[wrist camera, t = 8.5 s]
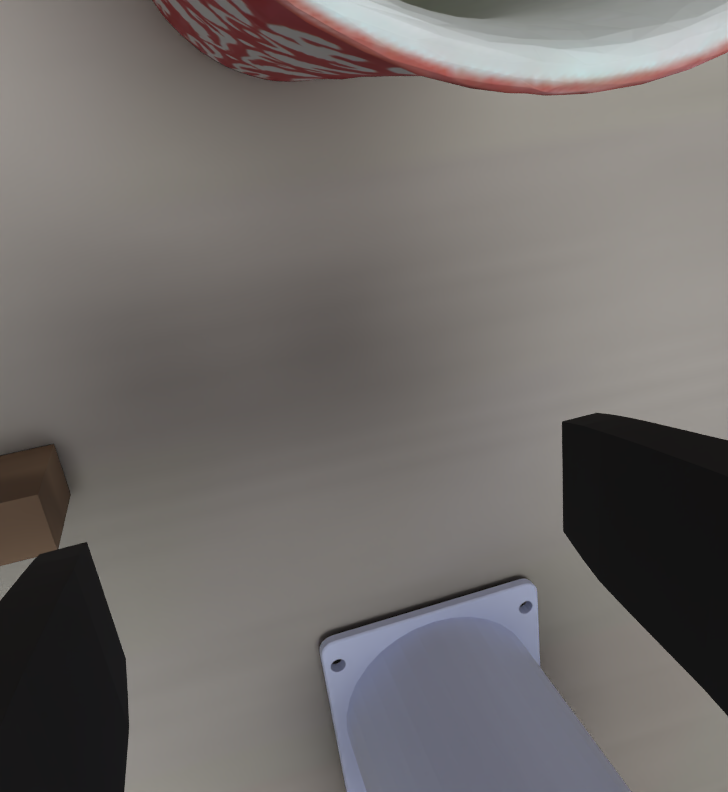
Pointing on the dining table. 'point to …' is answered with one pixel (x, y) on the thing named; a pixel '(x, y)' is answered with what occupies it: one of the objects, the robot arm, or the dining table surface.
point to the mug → (459, 40)
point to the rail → (31, 503)
